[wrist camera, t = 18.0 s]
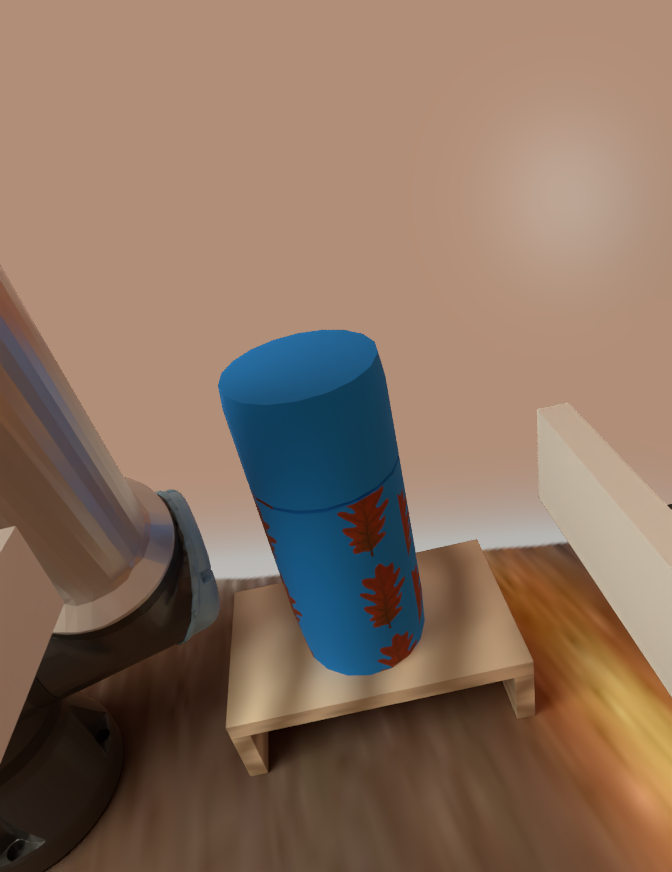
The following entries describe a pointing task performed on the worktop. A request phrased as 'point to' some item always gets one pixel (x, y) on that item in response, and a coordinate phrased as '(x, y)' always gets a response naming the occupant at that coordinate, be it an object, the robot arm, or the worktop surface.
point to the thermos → (330, 493)
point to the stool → (408, 680)
